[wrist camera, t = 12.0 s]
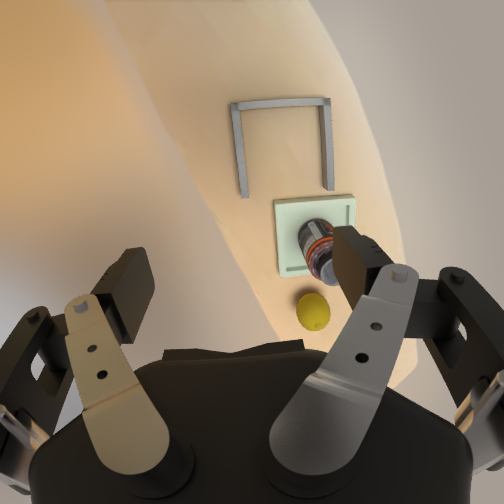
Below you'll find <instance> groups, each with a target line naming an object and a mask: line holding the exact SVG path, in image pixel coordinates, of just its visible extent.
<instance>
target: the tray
mask: <svg viewBox="0 0 504 504" xmlns="http://www.w3.org/2000/svg"><path fill="white" fill-rule="evenodd" d="M274 212H275V226H276V239H277V254H278V269H279V275H280V278H284V277H293V276H301V275H310V274H311V272H310V271H309V269H308V266H307V264H306V261H305V259H304V256H303V254H302V251H301V249H300V246H299V243H298V233H299V230H300V229H301V227H302V226H303V225H304V224H305V223H306V222H308V221H310V220H312V219H323V220H326V221H328V222H329V223H330V224H331V225H332V226H333V227H336V226H347V225H352V226H353V227H354V228H355V216H356V198H355V197H354V196H353V195H351V194H349V195H334V196H320V197H308V198H296V199H284V200H274Z"/></svg>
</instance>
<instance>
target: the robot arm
mask: <svg viewBox="0 0 504 504" xmlns="http://www.w3.org/2000/svg"><path fill="white" fill-rule="evenodd" d="M332 266H333V272H334V275H335V277H336V279H337V281H338V283H339V285H340V287H341V288H342V290H343V292H344V294H345V296H346V298H347V300H348V302H349V304H350V306H351V308H352V310H353V312H352V314H351V316H350V317H349V319H348V321H347V323H346V324H345V326H344V328H343V329H342V331H341V333H340V334H339V336H338V338H337V339H336V341H335V343H334V344H333V346H332V348H331V349H330V351H329V352H328V353H326V352H323V351H319V350H312V349H305V347H304V343H303V339H298V340H290V341H282V342H273V343H266V344H263V345H259V346H256V347H252V348H249V349H245V350H242V351H238V352H234V353H226V352H217V351H210V350H203V349H171V350H164V353H163V357H162V360H158V361H155V362H152V363H149V364H147V365H144V366H142V367H140V368H138V369H137V370H135V371H134V372H133V370H132V368H131V367H130V365H129V363H128V361H127V359H126V357H125V356H124V353H123V352H122V350H121V348H120V346H121V344H133V343H134V340H135V338H136V335H137V332H138V330H139V327H140V325H141V322H142V320H143V317H144V315H145V312H146V310H147V308H148V305H149V303H150V300H151V298H152V296H153V293H154V288H155V285H154V278H153V275H152V272H151V268H150V265H149V261H148V258H147V254H146V251H145V249H144V248H143V247H138V248H130V249H126V250H125V251H124V253H123V254H122V255H121V257H120V258H119V260H118V261H116V262H115V263H114V264H112V265H111V266H110V267H109V268H108V269H107V270H106V272H105V273H104V275H103V276H102V277H101V279H100V281H99V282H98V283H97V284H96V286H95V287H94V289H93V290H92V291H91V293H90V294H84V295H81V296H78V297H76V298H74V299H73V300H71V301H70V302H69V303H68V304H67V305H66V307H65V309H64V312H65V313H64V314H60V315H56V316H52V317H51V315H50V313H49V311H48V309H47V308H46V307H44V306H40V307H36V308H33V309H31V310H30V311H28V312H27V313H26V314H25V315H24V316H23V317H22V318H21V320H20V321H19V322H18V324H17V325H16V327H15V328H14V330H13V331H12V333H11V334H10V335H9V337H8V338H7V340H6V341H5V343H4V345H3V346H2V348H1V349H0V481H1V482H2V483H4V484H6V485H8V486H10V487H12V488H13V489H15V490H16V491H18V492H19V493H21V494H24V495H31V501H32V504H470V489H471V480H472V476H474V475H476V474H478V473H480V472H481V471H483V470H485V469H486V470H489V471H497V470H499V469H501V468H502V467H504V310H503V309H502V308H501V307H500V306H499V304H498V303H497V302H496V301H495V300H494V299H493V298H492V297H491V295H490V294H489V293H488V292H487V291H486V290H485V289H484V288H483V287H482V286H481V285H480V284H479V282H477V280H476V279H475V278H474V277H473V276H472V275H471V274H469V273H468V272H467V271H465V270H463V269H461V268H457V267H445V268H443V269H442V270H441V271H440V273H439V277H438V280H429V279H427V280H426V279H419V274H418V273H417V271H415V270H414V269H413V268H411V267H409V266H407V265H403V264H395V263H394V262H393V261H392V260H391V259H390V258H389V256H388V255H387V254H386V253H385V252H383V250H382V249H381V248H380V247H379V245H378V244H377V243H376V242H375V241H374V240H373V239H371V238H369V237H367V236H365V235H360V234H359V233H358V232H357V230H356V229H355V228H354V227H353V226H352V225H347V226H336V227H334V229H333V248H332ZM460 323H462V324H463V326H464V327H465V329H466V333H467V340H466V341H465V339H464V337H463V336H462V334H461V333H460V331H459V330H458V328H459V325H460ZM403 338H423V341H424V342H425V344H426V346H427V348H428V350H429V351H430V354H431V355H432V357H433V359H434V361H435V363H436V365H437V367H438V369H439V371H440V373H441V375H442V377H443V379H444V381H445V383H446V385H447V387H448V389H449V391H450V393H451V395H452V397H453V400H454V402H455V404H456V406H457V408H458V410H457V411H456V414H455V425H453V424H452V423H450V422H449V421H447V420H445V419H443V418H441V417H439V416H438V415H436V414H434V413H432V412H430V411H429V410H427V409H425V408H423V407H422V406H420V405H418V404H416V403H415V402H413V401H411V400H409V399H408V398H406V397H404V396H402V395H401V394H399V393H397V392H396V391H394V390H392V389H391V388H389V387H387V384H388V382H389V379H390V376H391V374H392V371H393V368H394V365H395V363H396V360H397V357H398V354H399V351H400V348H401V345H402V341H403ZM37 353H38V354H39V356H40V357H41V359H42V360H43V362H44V363H45V366H44V368H43V370H42V372H41V374H40V376H39V378H38V380H37V381H36V380H35V378H34V377H33V375H32V372H31V363H32V361H33V359H34V357H35V356H36V354H37ZM73 378H75V381H76V384H77V388H78V391H79V394H80V398H81V401H82V404H83V407H84V409H83V411H82V413H81V414H80V415H79V416H77V417H76V418H75V419H73V420H72V421H71V422H70V423H68V424H67V425H66V426H64V427H63V428H62V429H61V430H59V431H58V432H57V433H55V435H53V433H54V430H55V427H56V424H57V421H58V418H59V415H60V413H61V410H62V407H63V404H64V401H65V399H66V396H67V394H68V391H69V388H70V386H71V383H72V381H73Z"/></svg>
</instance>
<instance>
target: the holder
mask: <svg viewBox="0 0 504 504" xmlns="http://www.w3.org/2000/svg"><path fill="white" fill-rule="evenodd" d="M293 106H319V116H320V130H321V146H322V168H323V187H324V188H325V189H326V190H327V191H334V190H335V189H334V152H333V132H332V116H331V103H330V98H299V99H278V100H263V101H251V102H241V103H232V104H231V111H232V120H233V129H234V138H235V146H236V155H237V163H238V172H239V181H240V189H241V198H242V199H243V198H249V193H248V183H247V174H246V165H245V156H244V147H243V138H242V129H241V120H240V110H250V109H261V108H275V107H293Z"/></svg>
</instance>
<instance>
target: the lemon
mask: <svg viewBox="0 0 504 504" xmlns="http://www.w3.org/2000/svg"><path fill="white" fill-rule="evenodd" d="M296 313H297V317H298V320H299V322H300V323H301V324H302V326H303V327H304V328H306V329H307V330H310V331H318V330H321V329H323V328H324V327H325V326H326V325H327V324H328V322H329V320H330V307H329V304H328V302H327V301H326V299H325V298H324V297H323V296H321V295H320V294H317V293H308V294H306V295H304V296H303V297H302V298H301V299H300V300H299V302H298V304H297V308H296Z"/></svg>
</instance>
